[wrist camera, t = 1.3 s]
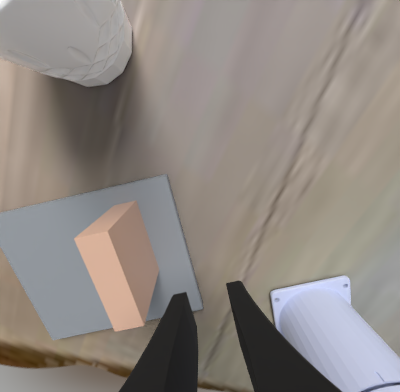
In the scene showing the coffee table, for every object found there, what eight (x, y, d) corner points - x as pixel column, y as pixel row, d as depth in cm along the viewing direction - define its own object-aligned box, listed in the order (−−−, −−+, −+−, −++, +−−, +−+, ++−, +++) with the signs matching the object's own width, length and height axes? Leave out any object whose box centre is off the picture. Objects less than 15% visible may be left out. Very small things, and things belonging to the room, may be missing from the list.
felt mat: (202, 302, 21) (203, 309, 21) (57, 333, 22) (52, 340, 21) (167, 173, 18) (165, 175, 17) (-7, 214, 18) (-16, 217, 17)
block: (159, 269, 19) (144, 325, 13) (137, 274, 19) (113, 331, 14) (136, 200, 17) (107, 231, 12) (112, 205, 17) (72, 238, 12)
